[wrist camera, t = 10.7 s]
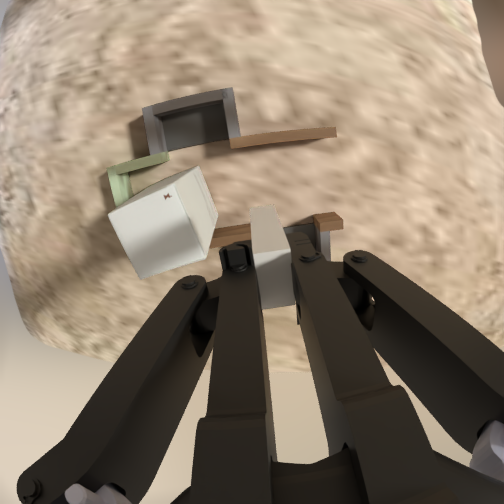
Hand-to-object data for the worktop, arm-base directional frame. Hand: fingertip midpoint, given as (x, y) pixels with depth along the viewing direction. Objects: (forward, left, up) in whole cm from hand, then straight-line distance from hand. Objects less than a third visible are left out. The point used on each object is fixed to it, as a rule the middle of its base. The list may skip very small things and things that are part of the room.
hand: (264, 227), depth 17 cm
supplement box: (+1, -9, -18) cm, 21 cm away
